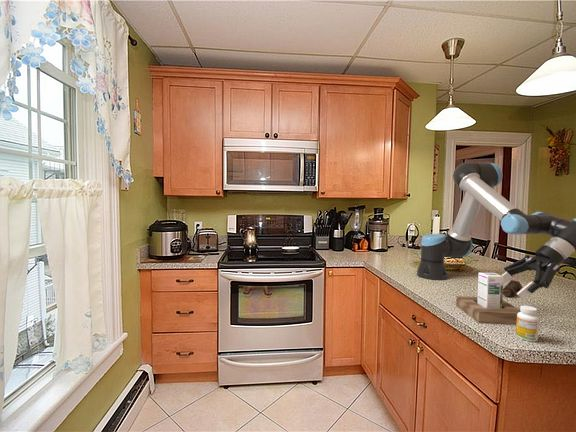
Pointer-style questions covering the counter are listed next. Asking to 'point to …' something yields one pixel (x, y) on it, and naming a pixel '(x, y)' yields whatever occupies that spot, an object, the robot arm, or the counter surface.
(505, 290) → the bolt
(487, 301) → the syrup box
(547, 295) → the counter surface
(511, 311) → the socket block
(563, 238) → the robot arm
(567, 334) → the counter surface
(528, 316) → the supplement bottle
